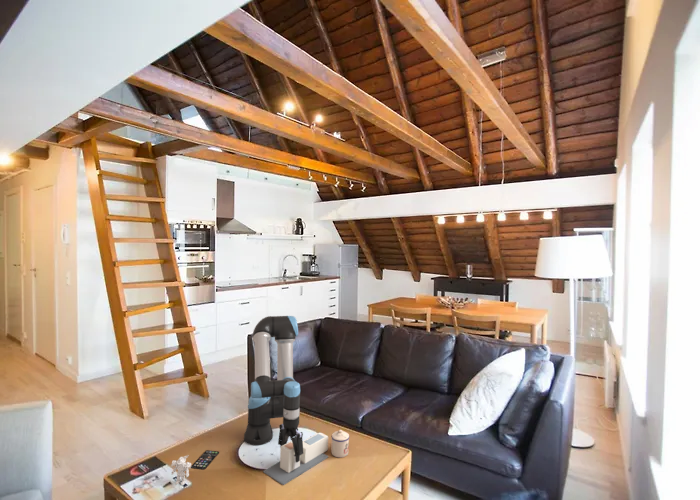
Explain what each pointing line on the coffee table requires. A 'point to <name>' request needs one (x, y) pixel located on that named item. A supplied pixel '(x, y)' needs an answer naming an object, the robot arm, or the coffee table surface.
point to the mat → (286, 477)
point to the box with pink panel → (287, 457)
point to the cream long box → (314, 447)
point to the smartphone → (205, 460)
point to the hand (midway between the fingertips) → (290, 464)
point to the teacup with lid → (340, 443)
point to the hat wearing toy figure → (181, 469)
